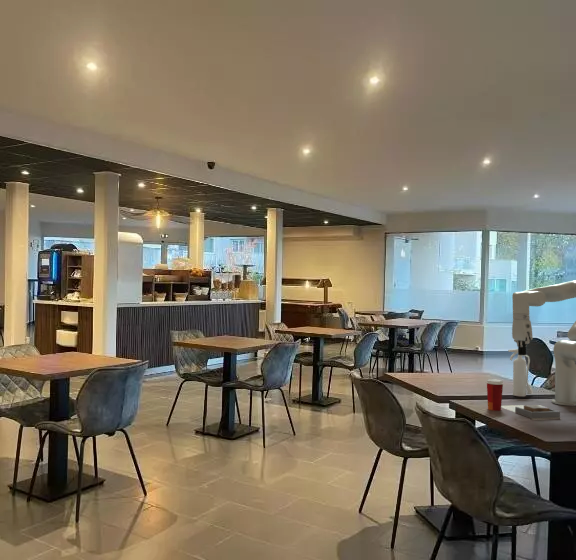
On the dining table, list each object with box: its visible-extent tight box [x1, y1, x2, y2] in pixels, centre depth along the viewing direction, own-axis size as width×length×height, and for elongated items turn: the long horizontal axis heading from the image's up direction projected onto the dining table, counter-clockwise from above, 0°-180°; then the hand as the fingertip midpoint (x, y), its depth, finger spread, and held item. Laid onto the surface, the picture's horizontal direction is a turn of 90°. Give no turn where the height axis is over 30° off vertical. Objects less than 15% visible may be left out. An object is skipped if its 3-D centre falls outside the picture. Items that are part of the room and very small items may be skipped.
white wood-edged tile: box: [524, 404, 549, 412], centre depth 261 cm, size 8×7×4 cm
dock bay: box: [501, 404, 561, 420], centre depth 269 cm, size 14×27×3 cm, turn 12°
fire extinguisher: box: [508, 348, 534, 397], centre depth 314 cm, size 7×12×25 cm, turn 79°
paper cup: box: [485, 378, 504, 412], centre depth 272 cm, size 8×8×14 cm
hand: (522, 354), depth 284 cm, fingers closed
